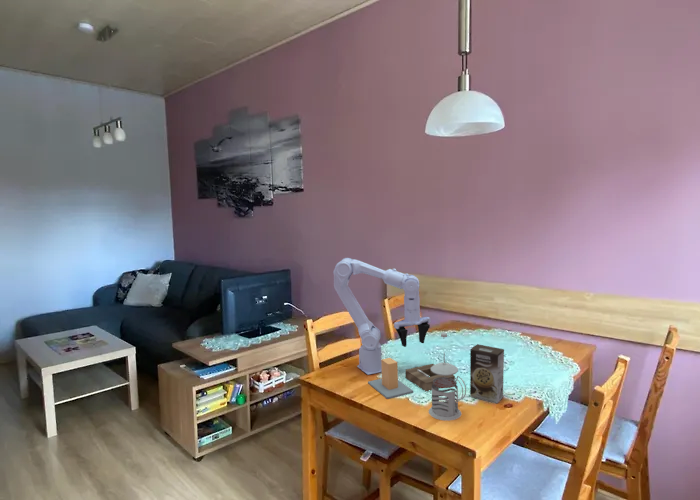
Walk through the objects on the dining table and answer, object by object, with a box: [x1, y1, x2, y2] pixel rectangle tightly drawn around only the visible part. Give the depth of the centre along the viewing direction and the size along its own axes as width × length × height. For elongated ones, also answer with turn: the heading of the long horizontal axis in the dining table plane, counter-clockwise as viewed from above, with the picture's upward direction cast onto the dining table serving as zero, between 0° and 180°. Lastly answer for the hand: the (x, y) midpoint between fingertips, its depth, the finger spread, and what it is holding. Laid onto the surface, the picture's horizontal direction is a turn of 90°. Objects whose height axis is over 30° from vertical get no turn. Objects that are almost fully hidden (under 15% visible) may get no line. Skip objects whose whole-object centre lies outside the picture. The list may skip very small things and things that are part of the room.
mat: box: [367, 377, 414, 400], centre depth 151 cm, size 14×10×1 cm
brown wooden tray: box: [404, 363, 456, 392], centre depth 156 cm, size 13×12×4 cm
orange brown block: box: [381, 357, 399, 390], centre depth 151 cm, size 5×4×9 cm
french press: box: [428, 331, 467, 422], centre depth 131 cm, size 10×12×25 cm
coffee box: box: [469, 343, 505, 404], centre depth 141 cm, size 9×6×16 cm
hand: (412, 344), depth 164 cm, fingers open, 7 cm apart
